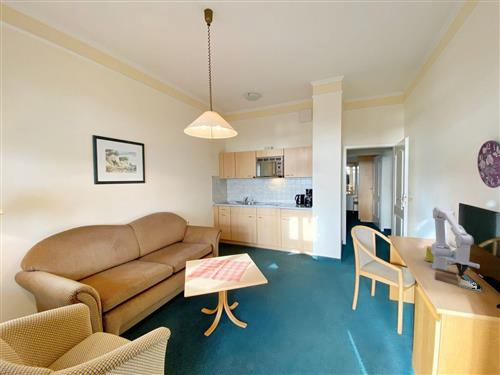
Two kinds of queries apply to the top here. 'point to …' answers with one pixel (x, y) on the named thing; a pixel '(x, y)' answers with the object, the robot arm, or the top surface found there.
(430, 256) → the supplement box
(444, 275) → the walnut box
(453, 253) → the light bulb box
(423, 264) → the top surface
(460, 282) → the lid
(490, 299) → the top surface
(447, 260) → the robot arm
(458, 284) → the slate mat
